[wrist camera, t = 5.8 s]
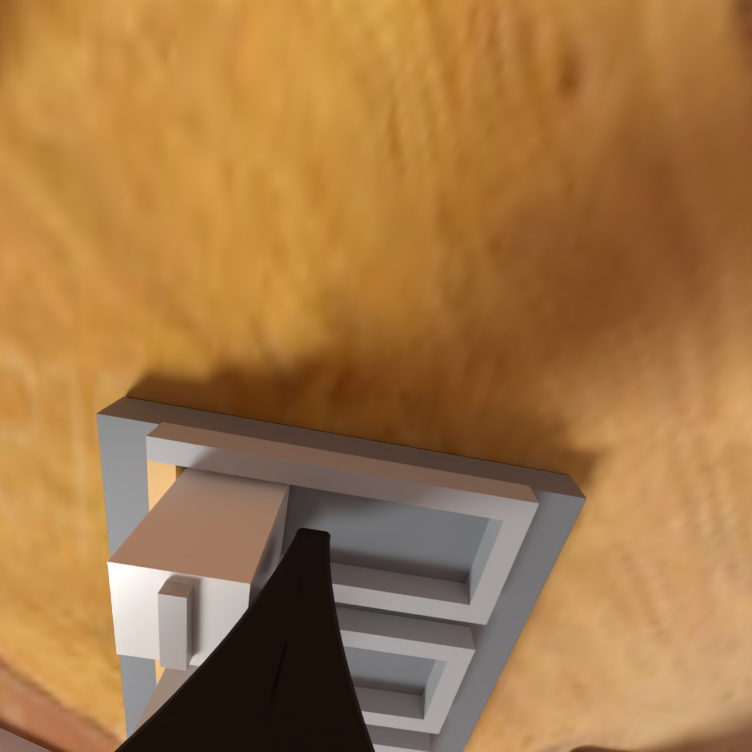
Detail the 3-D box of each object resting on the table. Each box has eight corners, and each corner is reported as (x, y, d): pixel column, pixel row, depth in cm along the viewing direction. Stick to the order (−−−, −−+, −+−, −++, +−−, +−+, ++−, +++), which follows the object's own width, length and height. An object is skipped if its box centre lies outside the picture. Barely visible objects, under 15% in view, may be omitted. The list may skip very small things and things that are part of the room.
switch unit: (569, 472, 13) (602, 514, 11) (438, 761, 19) (443, 818, 17) (123, 393, 12) (75, 423, 10) (144, 722, 18) (117, 777, 17)
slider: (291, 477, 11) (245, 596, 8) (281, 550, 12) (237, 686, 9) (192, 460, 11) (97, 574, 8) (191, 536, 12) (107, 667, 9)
